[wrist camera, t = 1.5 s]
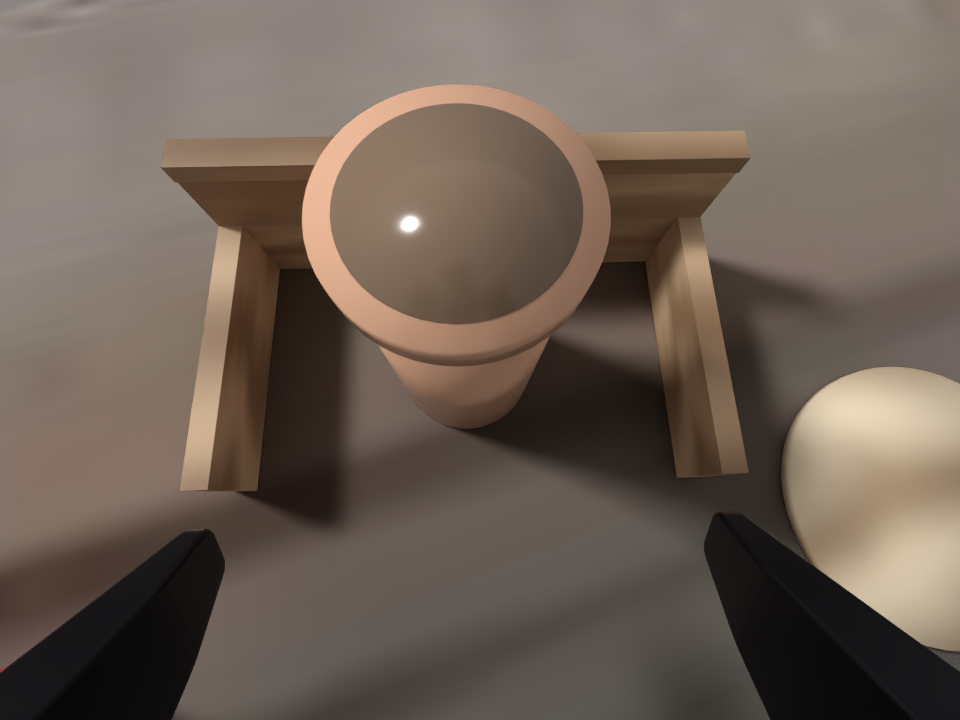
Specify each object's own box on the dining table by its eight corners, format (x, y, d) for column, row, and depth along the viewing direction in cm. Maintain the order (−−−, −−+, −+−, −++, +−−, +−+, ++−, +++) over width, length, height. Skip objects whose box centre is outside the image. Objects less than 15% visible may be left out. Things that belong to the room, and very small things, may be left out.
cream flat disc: (1109, 549, 20) (1128, 551, 20) (913, 708, 18) (927, 715, 18) (914, 328, 23) (925, 324, 23) (727, 447, 21) (734, 446, 21)
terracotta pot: (559, 392, 22) (673, 257, 9) (439, 461, 21) (387, 413, 8) (491, 282, 24) (510, 43, 11) (375, 342, 23) (252, 154, 10)
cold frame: (698, 476, 21) (823, 467, 13) (234, 491, 20) (97, 489, 13) (660, 242, 24) (744, 130, 17) (262, 250, 24) (166, 139, 16)
